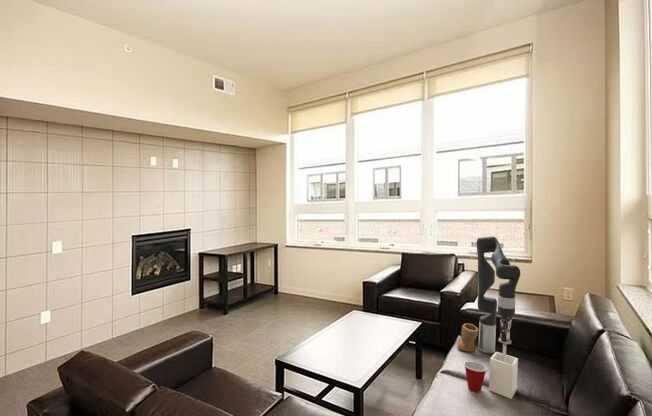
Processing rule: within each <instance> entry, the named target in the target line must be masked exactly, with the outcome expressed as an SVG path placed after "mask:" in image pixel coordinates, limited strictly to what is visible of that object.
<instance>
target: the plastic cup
mask: <svg viewBox="0 0 652 416" xmlns="http://www.w3.org/2000/svg"><path fill="white" fill-rule="evenodd" d="M463 366H464V370H465V375H466V382H467V383H466V384H467V387H468V389H469V391H471V392H473V393H480V392H481V391H482V389H483V388H482V387H483V384H484V380H485V375H486V373H487V371H488V366H486V365H485V364H482V363H481V362H478V361H477V362H476V361H472V360H470V361H464V362H463Z"/></svg>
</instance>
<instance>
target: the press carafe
mask: <svg viewBox="0 0 652 416" xmlns="http://www.w3.org/2000/svg"><path fill="white" fill-rule="evenodd" d="M502 358H503V352H499V351H495V352H494V353H492V356H490V358H489V376H488V377H489V379H488V391H489V392H492V393H496V394H498V395H500V396H502V397H503V396H504V397H506V398H508V399H510V400H512V399H513V397H514V395H515V393H516V392H517V386H518V364H519V359H518V357H514V356H511V355H508V354H506V363H505V362H502Z"/></svg>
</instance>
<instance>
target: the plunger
mask: <svg viewBox="0 0 652 416" xmlns="http://www.w3.org/2000/svg"><path fill="white" fill-rule="evenodd" d="M503 331H504V330H503ZM510 334H511V331H509V332H508V331H507V338H506V342H503V341H501V334H500V335H499V338H498V339H497V340H498V342H499V343H501V344H502V354H503V358H502V362H505V363H506V355H507V345H511V344H512V340H511V339H510V338H511V337H510V336H511V335H510Z"/></svg>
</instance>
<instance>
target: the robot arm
mask: <svg viewBox="0 0 652 416" xmlns="http://www.w3.org/2000/svg"><path fill="white" fill-rule="evenodd" d="M476 251H477V252H476V254H477V286H478V287H477V288H478V289H477V309H478V310H479V311H480V312H483V313H489V314H486V315H482V316H480V317H479V322H478V323H479V324H478V325H479V327H478V350H479V351H481V352H482V353H485V354H494V353H495V352H496V330H497V315H499V316H501V318H499V319H500V320H499V322H498V325H499V326H498V328H499V334H500V335H501V341H503V342H506V338H507V331H508V332H511V331H510V330H511V328H512V320H513V318H514V317H515V316H516V290H517V286H518V282H519V280H520V277H521V269H520V268H519V266H517V265H515V264H514V265H512V264H511V263H510V260H509V259H508V258H507V257H506V255H505V254H504V252H503V249H502V247H501V244H500V242H499V240H498V238H496V237H495V236H482V237H481V236H480V237H478V238H477V239H476ZM490 253H492V254H491V256H490V257H491V258H490V259H491V262H492V264H493V266H494V267H492V265H491V264H490V263H489V262H488V260H487V259H486V257H485V254H490ZM494 268H495V269H494ZM495 277H496V278H498V279H500V280H508V281H507V282H504V283H500V284H499V286H498V297H497V298H498V299H496V298H494V297H490V296H489V297H487V296H485V294H486V292H487V291H488V290H489V289H490V288H492V286H493V285H494V284H495V282H496V281H495V280H496V279H495ZM503 330H504V331H503Z"/></svg>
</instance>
